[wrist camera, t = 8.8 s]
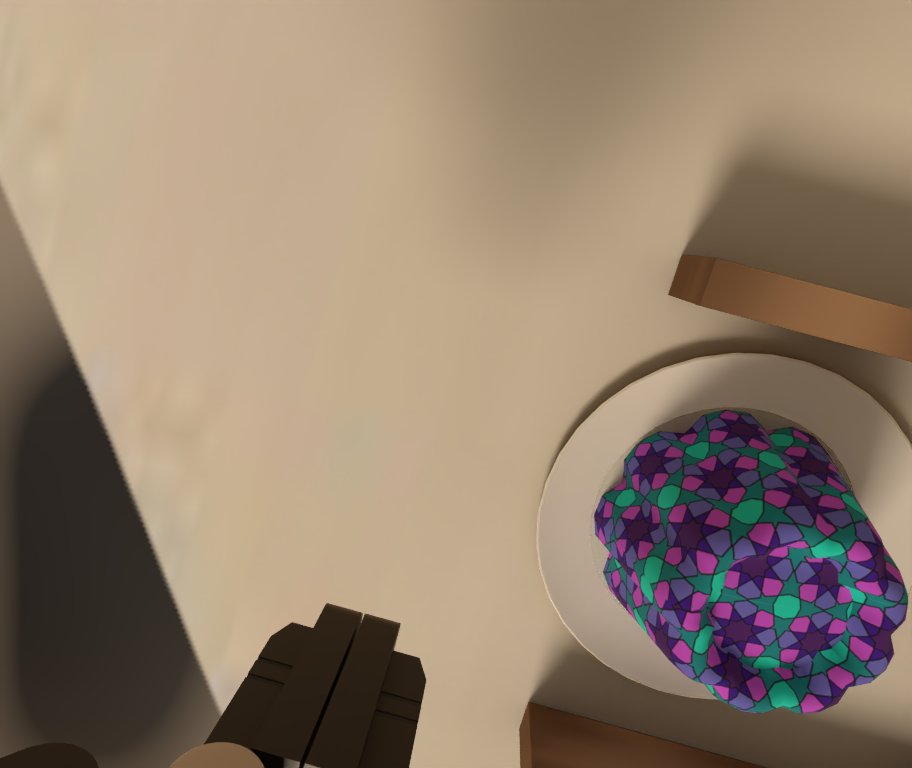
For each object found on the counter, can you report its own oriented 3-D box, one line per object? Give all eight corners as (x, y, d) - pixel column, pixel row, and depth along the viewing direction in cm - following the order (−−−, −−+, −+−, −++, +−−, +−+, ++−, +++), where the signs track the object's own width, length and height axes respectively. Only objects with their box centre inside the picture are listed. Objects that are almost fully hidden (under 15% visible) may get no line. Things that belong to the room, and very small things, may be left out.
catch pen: (1186, 387, 18) (1323, 417, 15) (923, 841, 22) (987, 934, 19) (682, 254, 18) (716, 258, 15) (519, 729, 22) (521, 803, 19)
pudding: (564, 325, 19) (585, 357, 14) (963, 374, 18) (1140, 426, 13) (512, 656, 22) (515, 784, 17) (855, 707, 21) (966, 856, 16)
